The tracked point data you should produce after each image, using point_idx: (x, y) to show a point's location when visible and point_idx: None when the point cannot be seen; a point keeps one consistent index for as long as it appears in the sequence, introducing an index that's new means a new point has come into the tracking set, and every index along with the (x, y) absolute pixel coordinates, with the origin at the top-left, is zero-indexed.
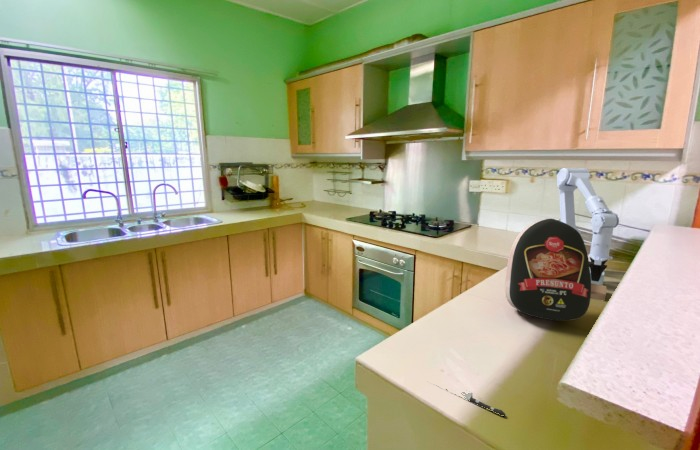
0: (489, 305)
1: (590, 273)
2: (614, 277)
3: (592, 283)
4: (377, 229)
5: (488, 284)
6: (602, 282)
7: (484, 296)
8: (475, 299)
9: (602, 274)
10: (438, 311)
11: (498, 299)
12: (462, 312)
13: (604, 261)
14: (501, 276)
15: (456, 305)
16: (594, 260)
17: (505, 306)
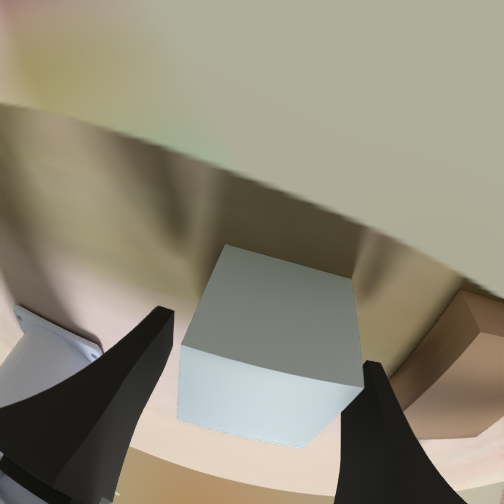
0: (490, 472)
1: (309, 437)
2: (9, 117)
3: (425, 392)
4: (118, 493)
5: None
6: (356, 321)
7: (452, 484)
8: (463, 484)
9: (325, 392)
10: (490, 483)
11: (469, 474)
12: (501, 475)
13: (79, 460)
14: (312, 491)
15: (479, 484)
16: (110, 480)
17: (500, 462)
